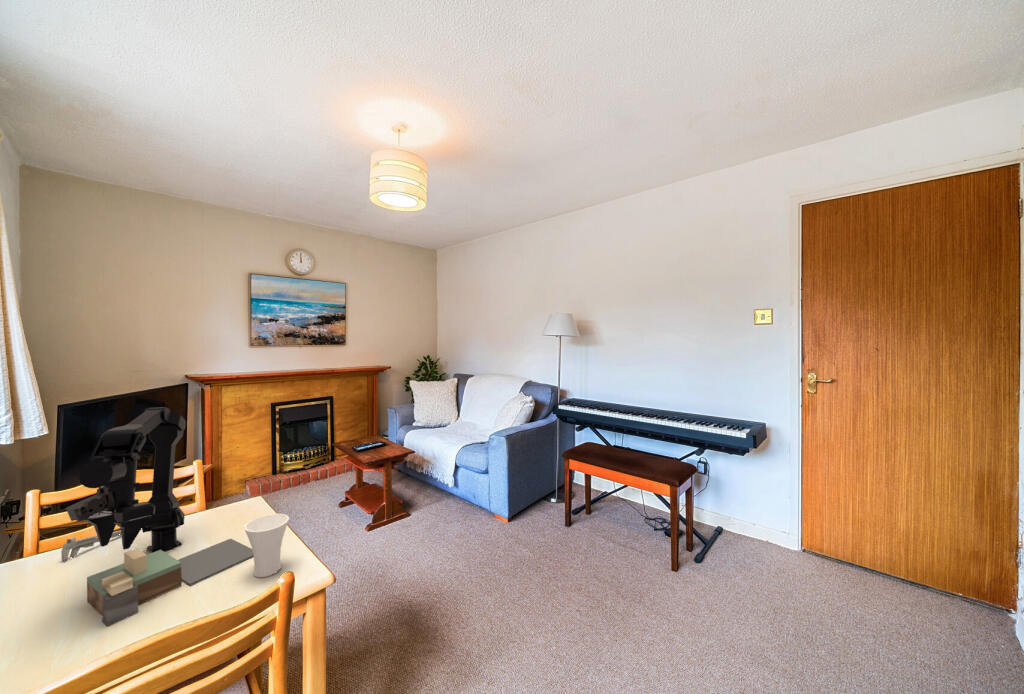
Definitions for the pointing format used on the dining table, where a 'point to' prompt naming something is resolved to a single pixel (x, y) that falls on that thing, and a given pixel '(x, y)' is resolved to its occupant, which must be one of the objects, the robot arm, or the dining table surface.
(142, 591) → the toolbox
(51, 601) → the dining table surface
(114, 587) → the wooden block
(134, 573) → the lid
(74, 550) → the caliper
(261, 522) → the cup
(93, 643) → the dining table surface
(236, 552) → the mat
